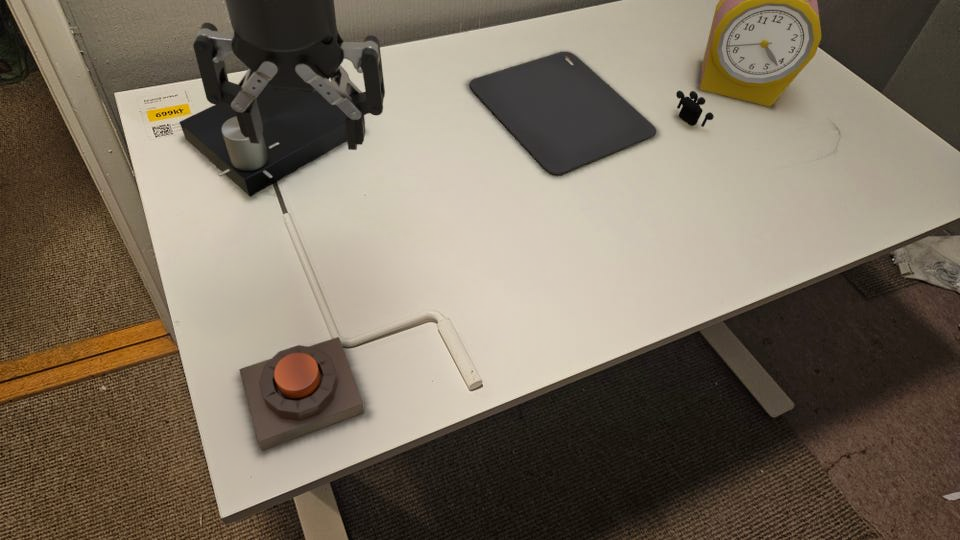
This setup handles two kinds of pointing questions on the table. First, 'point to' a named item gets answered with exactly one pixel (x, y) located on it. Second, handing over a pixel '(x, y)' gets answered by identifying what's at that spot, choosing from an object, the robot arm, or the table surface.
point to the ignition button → (297, 375)
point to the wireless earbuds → (692, 108)
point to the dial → (243, 148)
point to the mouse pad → (562, 111)
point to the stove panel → (271, 135)
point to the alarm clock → (759, 47)
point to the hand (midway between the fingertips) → (306, 140)
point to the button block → (300, 416)
